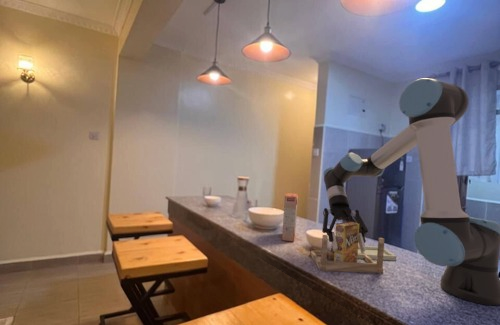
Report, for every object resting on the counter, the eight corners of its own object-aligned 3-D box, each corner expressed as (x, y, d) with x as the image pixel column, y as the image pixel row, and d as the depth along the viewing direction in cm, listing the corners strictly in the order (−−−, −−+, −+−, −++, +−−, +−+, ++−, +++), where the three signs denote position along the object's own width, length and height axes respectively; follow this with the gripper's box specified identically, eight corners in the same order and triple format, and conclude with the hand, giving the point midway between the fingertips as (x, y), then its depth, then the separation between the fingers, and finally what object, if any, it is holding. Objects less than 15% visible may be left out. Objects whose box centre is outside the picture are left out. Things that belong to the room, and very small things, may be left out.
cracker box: (294, 242, 127) (297, 196, 127) (281, 240, 128) (284, 195, 128) (295, 234, 141) (298, 193, 140) (283, 233, 142) (286, 192, 141)
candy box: (342, 269, 98) (345, 225, 98) (332, 264, 102) (335, 223, 101) (357, 264, 103) (360, 223, 103) (347, 260, 107) (350, 221, 107)
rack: (383, 273, 96) (385, 239, 96) (320, 270, 96) (322, 235, 96) (363, 257, 112) (365, 227, 112) (310, 254, 112) (311, 224, 112)
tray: (396, 260, 110) (396, 256, 110) (357, 258, 110) (357, 254, 110) (382, 250, 122) (382, 246, 122) (346, 248, 121) (346, 245, 121)
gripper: (361, 206, 118) (376, 256, 102) (309, 203, 117) (316, 253, 102) (367, 195, 112) (384, 247, 97) (313, 192, 112) (321, 243, 96)
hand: (349, 250), depth 99 cm, fingers closed on candy box, 9 cm apart
